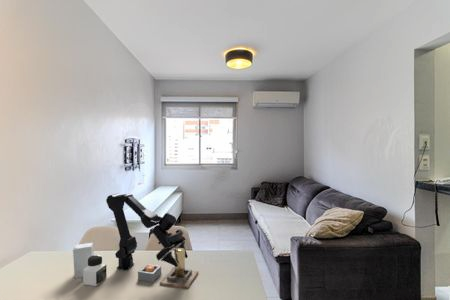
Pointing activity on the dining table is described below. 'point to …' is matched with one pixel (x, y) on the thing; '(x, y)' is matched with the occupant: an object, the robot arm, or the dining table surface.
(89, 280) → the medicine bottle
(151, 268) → the button
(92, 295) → the dining table surface
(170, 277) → the brown board with frame
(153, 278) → the button housing
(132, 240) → the robot arm
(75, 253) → the skincare box
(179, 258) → the brass billet
